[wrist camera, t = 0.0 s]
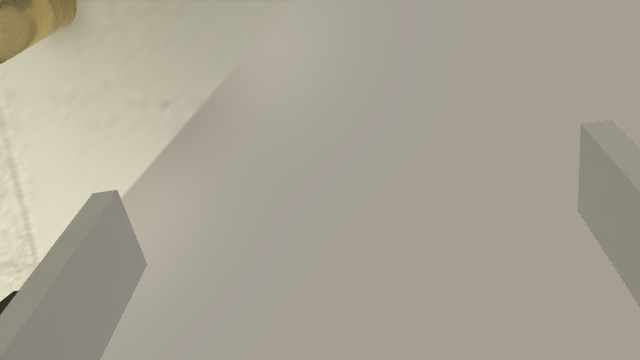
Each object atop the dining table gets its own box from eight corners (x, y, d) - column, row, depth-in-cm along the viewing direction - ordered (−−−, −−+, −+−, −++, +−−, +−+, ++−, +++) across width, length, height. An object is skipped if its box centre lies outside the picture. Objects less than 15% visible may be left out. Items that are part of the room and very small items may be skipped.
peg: (18, -19, 41) (-59, 10, 34) (64, -28, 41) (-3, -1, 33) (38, 30, 43) (-31, 69, 35) (83, 22, 43) (23, 59, 35)
